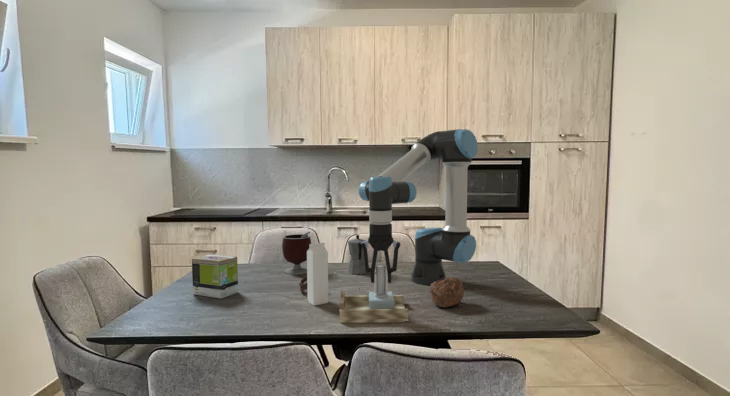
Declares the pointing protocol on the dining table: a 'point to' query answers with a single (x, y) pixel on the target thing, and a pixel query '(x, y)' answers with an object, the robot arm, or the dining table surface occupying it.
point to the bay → (370, 310)
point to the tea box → (215, 275)
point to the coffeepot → (356, 256)
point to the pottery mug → (303, 286)
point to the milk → (317, 274)
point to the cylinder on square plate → (381, 293)
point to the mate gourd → (296, 251)
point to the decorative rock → (447, 292)
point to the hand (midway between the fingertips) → (380, 291)
